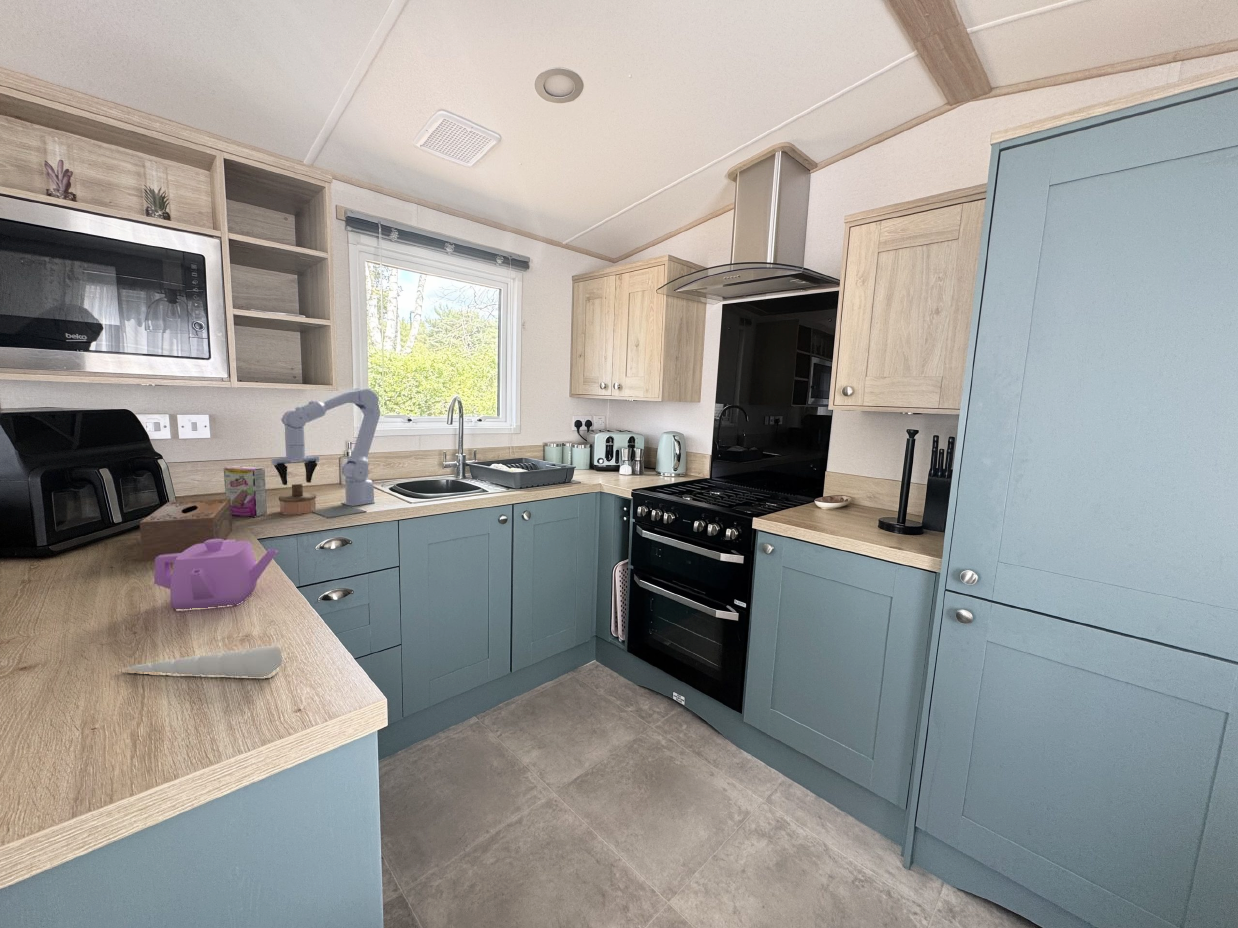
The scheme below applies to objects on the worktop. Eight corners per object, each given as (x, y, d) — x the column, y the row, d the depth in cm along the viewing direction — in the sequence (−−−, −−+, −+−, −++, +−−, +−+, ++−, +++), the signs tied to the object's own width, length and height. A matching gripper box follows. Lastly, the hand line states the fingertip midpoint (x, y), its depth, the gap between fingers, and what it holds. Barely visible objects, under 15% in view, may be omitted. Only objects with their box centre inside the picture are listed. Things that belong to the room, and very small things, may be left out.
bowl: (307, 506, 191) (306, 494, 191) (319, 511, 185) (319, 498, 185) (276, 511, 183) (276, 498, 183) (288, 515, 177) (287, 502, 177)
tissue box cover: (171, 535, 151) (168, 501, 150) (232, 530, 158) (230, 498, 157) (143, 561, 129) (139, 522, 127) (215, 554, 136) (213, 517, 134)
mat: (348, 506, 194) (348, 505, 194) (366, 512, 186) (366, 511, 186) (311, 512, 184) (311, 510, 184) (328, 518, 176) (328, 517, 176)
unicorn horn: (140, 661, 83) (137, 632, 82) (286, 669, 83) (284, 640, 82) (110, 677, 78) (107, 647, 78) (265, 685, 78) (263, 655, 77)
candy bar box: (225, 515, 174) (222, 467, 172) (237, 512, 179) (234, 465, 177) (256, 517, 173) (253, 469, 171) (267, 514, 178) (265, 467, 176)
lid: (307, 494, 192) (307, 481, 191) (321, 498, 185) (321, 484, 184) (273, 498, 183) (272, 484, 182) (286, 503, 176) (285, 488, 175)
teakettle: (234, 578, 120) (230, 526, 118) (284, 590, 113) (282, 535, 112) (144, 604, 104) (138, 544, 102) (197, 621, 98) (192, 557, 96)
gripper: (312, 443, 189) (313, 479, 191) (267, 445, 178) (269, 484, 180) (321, 444, 185) (322, 482, 187) (275, 447, 174) (277, 487, 176)
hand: (296, 483), depth 183 cm, fingers open, 7 cm apart
